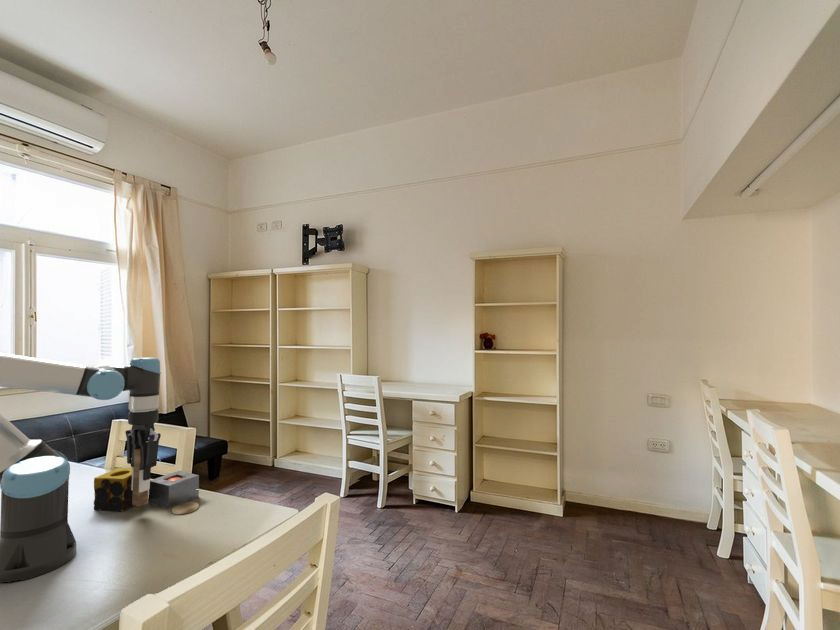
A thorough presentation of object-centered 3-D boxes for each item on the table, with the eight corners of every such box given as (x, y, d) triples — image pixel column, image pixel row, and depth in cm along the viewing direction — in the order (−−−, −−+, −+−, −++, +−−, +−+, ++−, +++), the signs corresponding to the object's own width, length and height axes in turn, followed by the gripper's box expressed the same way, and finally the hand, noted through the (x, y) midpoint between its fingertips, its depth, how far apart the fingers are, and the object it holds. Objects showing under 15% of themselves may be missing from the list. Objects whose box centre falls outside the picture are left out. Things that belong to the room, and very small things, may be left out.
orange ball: (172, 495, 129) (172, 482, 129) (164, 493, 130) (164, 480, 131) (183, 490, 132) (183, 478, 132) (176, 488, 134) (176, 476, 134)
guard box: (168, 508, 125) (168, 485, 125) (148, 503, 129) (148, 480, 129) (198, 496, 134) (198, 475, 134) (178, 491, 138) (179, 470, 138)
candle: (148, 498, 133) (149, 467, 133) (123, 512, 123) (124, 478, 123) (120, 497, 134) (120, 466, 134) (92, 510, 124) (93, 477, 124)
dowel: (137, 506, 118) (140, 450, 119) (132, 504, 120) (134, 449, 120) (147, 502, 121) (150, 448, 122) (142, 501, 122) (144, 447, 123)
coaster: (181, 516, 120) (181, 514, 120) (166, 511, 123) (166, 509, 123) (203, 506, 126) (203, 505, 126) (188, 502, 129) (188, 500, 129)
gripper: (173, 409, 121) (170, 490, 120) (140, 405, 128) (137, 481, 127) (147, 414, 115) (143, 499, 114) (114, 409, 122) (110, 489, 120)
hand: (140, 489), depth 120 cm, fingers closed on dowel, 3 cm apart
